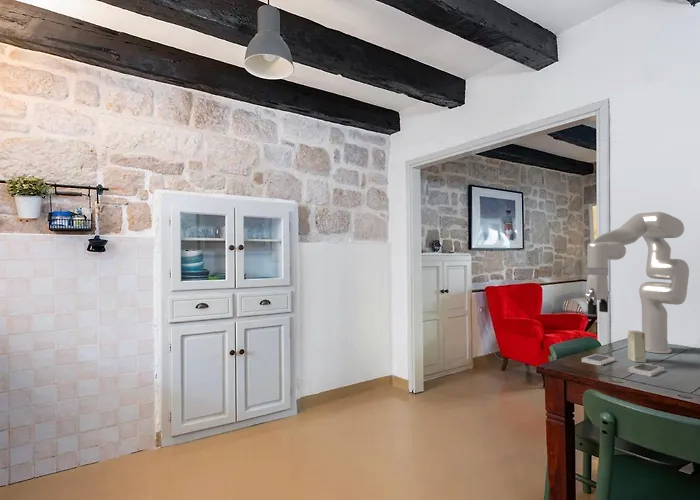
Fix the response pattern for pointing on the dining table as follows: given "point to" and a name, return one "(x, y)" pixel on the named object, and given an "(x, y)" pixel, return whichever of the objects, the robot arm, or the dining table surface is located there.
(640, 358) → the skincare box
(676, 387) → the dining table surface
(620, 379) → the dining table surface
